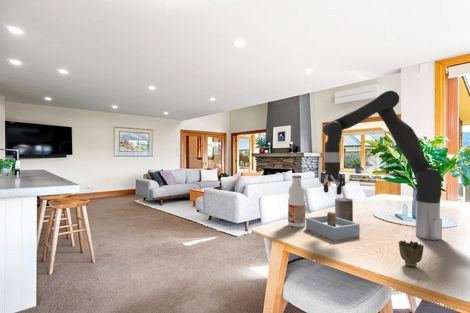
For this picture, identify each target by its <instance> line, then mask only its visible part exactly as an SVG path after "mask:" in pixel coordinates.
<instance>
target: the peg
mask: <svg viewBox="0 0 470 313" xmlns="http://www.w3.org/2000/svg"><path fill="white" fill-rule="evenodd" d="M327 225H330V226H333V227H336V213H335V211H333V212H332V211H330V212H329V211H328V212H327Z"/></svg>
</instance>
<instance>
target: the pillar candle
mask: <svg viewBox="0 0 470 313" xmlns="http://www.w3.org/2000/svg"><path fill="white" fill-rule="evenodd" d="M353 212H354V207H353V199H352V198H348V197H347V198H345V197H337V198H335V199H334V213H336V217H337V218H340V219H344V220H347V221H351V222H354V221H353V220H354V219H353V218H354V215H353Z"/></svg>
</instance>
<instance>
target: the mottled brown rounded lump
mask: <svg viewBox="0 0 470 313" xmlns="http://www.w3.org/2000/svg"><path fill="white" fill-rule="evenodd" d="M424 247H425V246H424V244H422V243H418V241H412V240H410V241H409V242H407V241H406V240H405V239H404V240H400V241H398V248H399V254H400V258H402V260H403V261H404V265H405V266H407V267H409V268H417V267H418V264H419V263H420V262H421V261H422V259H423V255H424Z"/></svg>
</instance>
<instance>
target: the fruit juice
mask: <svg viewBox="0 0 470 313" xmlns="http://www.w3.org/2000/svg"><path fill="white" fill-rule="evenodd" d="M291 177H292V183H291V186H289V188H288V196H289V197H288V199H287V200H288V201H287V205H288V206H287V208H288V211H287V224H288V226H289V225H290V226H289V227H291V226H293V227H292V228H305V227H306V198H305V195H306V189H305V187H304V186H303V185H302V184H303V183H302V175H298V174H296V175H292V176H291Z"/></svg>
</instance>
